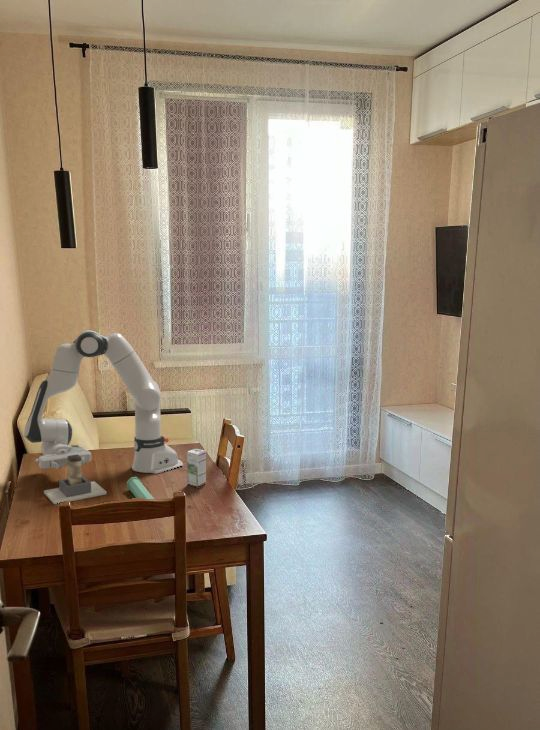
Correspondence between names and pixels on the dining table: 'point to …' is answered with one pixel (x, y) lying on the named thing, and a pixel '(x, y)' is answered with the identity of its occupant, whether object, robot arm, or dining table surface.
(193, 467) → the syrup box
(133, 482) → the container
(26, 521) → the dining table surface
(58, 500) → the collar stand
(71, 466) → the spice jar
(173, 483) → the dining table surface
